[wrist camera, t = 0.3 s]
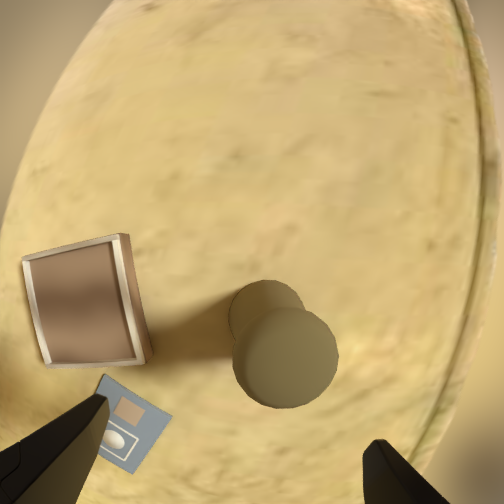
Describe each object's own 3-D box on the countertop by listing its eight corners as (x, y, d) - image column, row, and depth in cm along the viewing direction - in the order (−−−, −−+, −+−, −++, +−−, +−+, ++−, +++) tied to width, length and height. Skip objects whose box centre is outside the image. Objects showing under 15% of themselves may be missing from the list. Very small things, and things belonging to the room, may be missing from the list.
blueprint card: (133, 472, 23) (132, 474, 22) (76, 437, 22) (75, 438, 22) (172, 416, 23) (171, 418, 23) (105, 373, 23) (103, 375, 22)
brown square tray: (153, 354, 23) (144, 365, 20) (60, 360, 22) (46, 369, 20) (129, 234, 23) (117, 232, 20) (37, 255, 22) (20, 256, 20)
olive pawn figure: (214, 331, 23) (197, 394, 12) (253, 265, 23) (267, 278, 12) (279, 365, 23) (309, 442, 12) (318, 303, 23) (379, 341, 12)
